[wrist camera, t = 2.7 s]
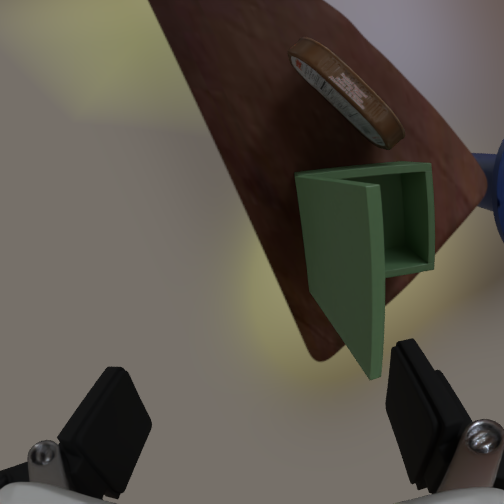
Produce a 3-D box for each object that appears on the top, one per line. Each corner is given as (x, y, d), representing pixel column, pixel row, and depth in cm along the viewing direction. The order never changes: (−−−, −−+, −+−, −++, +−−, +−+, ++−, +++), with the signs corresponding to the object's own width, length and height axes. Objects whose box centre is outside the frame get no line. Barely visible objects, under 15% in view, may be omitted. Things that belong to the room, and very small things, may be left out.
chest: (402, 161, 33) (431, 163, 26) (408, 249, 36) (434, 269, 29) (294, 172, 35) (298, 175, 28) (306, 263, 38) (312, 289, 31)
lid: (380, 184, 13) (365, 186, 13) (381, 377, 16) (369, 380, 16) (303, 175, 27) (294, 176, 27) (317, 290, 30) (309, 291, 30)
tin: (390, 138, 33) (420, 134, 25) (374, 155, 34) (400, 155, 26) (299, 50, 31) (305, 22, 23) (281, 66, 31) (282, 42, 23)
